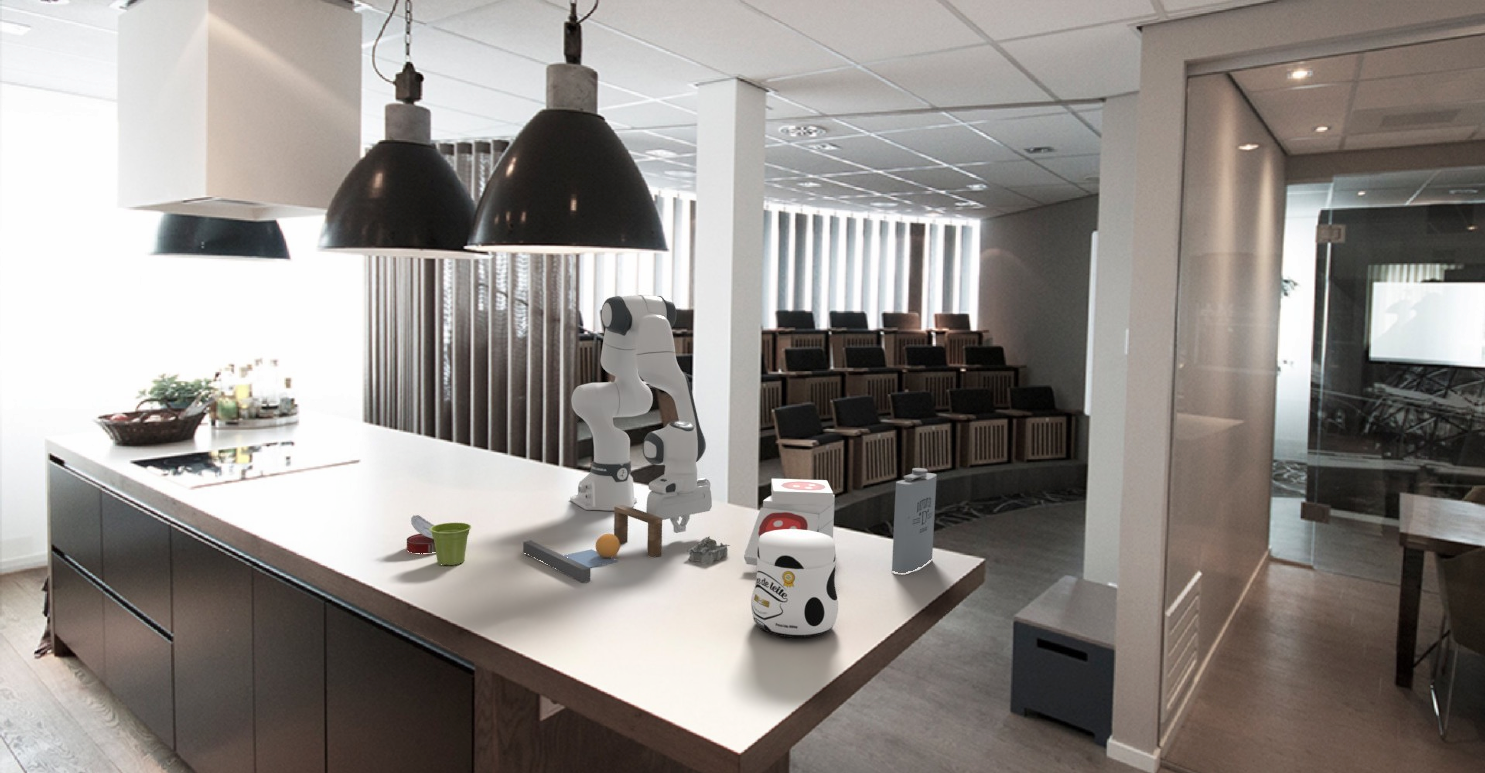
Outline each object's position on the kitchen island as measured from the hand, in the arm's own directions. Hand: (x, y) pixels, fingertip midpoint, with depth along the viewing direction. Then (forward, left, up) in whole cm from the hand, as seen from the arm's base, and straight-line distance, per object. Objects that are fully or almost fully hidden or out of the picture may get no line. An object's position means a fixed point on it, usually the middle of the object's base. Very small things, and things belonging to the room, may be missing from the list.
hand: (679, 531), depth 222 cm
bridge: (0, -14, -2) cm, 14 cm away
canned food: (-32, -56, -2) cm, 65 cm away
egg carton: (+17, -4, -3) cm, 17 cm away
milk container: (+62, -20, -2) cm, 65 cm away
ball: (+2, -24, +1) cm, 24 cm away
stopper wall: (0, -38, -2) cm, 38 cm away
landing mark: (0, -30, -2) cm, 30 cm away
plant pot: (-18, -56, -2) cm, 59 cm away
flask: (+54, +32, -2) cm, 63 cm away
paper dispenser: (+31, +12, -2) cm, 33 cm away
